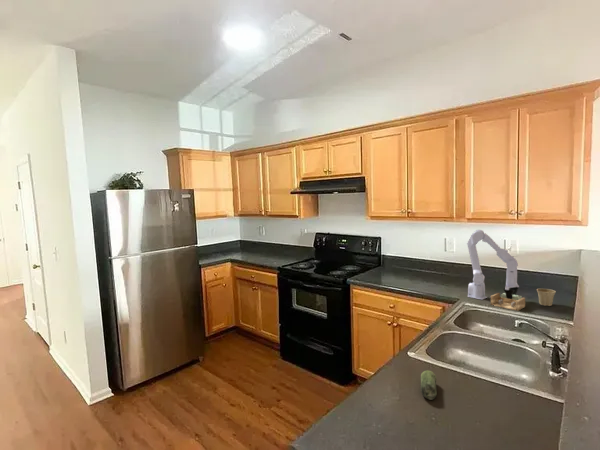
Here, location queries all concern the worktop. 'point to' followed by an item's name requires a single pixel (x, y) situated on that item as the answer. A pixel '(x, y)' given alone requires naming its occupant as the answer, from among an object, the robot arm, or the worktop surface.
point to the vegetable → (428, 384)
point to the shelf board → (514, 297)
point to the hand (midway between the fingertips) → (511, 299)
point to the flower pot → (546, 296)
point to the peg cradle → (507, 302)
